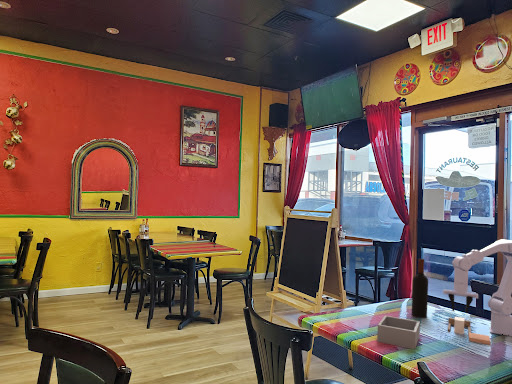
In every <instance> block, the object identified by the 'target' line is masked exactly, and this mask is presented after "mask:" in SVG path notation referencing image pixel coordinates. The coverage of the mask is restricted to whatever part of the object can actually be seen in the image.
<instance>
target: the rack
mask: <svg viewBox="0 0 512 384" xmlns="http://www.w3.org/2000/svg"><path fill="white" fill-rule="evenodd" d="M454 324H455V317H454V318H453V317H448V325H447V332H449V333H450V332H451V326H454ZM464 328H467V335H468V336H469V332H470V333H472V330H471V320H465V319H464Z"/></svg>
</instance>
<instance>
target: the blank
mask: <svg viewBox="0 0 512 384" xmlns="http://www.w3.org/2000/svg"><path fill="white" fill-rule="evenodd" d="M454 319H455V324H454V325H453V326H454V327H453V328H454V329H453V332H454V334H460V335H464V334H465V327H464V320H465V318H464V317H460V316H459V317H458V316H454Z"/></svg>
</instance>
